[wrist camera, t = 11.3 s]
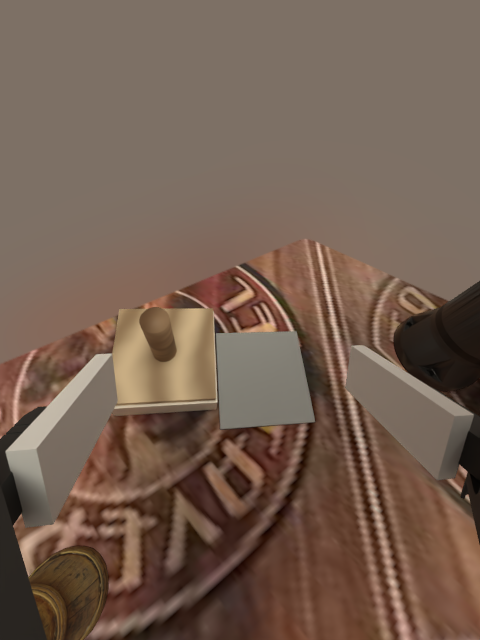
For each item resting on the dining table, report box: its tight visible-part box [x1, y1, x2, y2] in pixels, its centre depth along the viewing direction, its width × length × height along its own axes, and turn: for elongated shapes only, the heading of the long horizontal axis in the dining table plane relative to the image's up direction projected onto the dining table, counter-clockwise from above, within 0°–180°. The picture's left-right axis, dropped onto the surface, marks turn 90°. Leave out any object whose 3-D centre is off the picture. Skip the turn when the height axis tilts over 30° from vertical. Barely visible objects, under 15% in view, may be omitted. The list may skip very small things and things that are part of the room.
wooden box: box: [111, 311, 217, 416], centre depth 42 cm, size 15×15×5 cm
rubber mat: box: [216, 331, 315, 430], centre depth 45 cm, size 15×16×1 cm
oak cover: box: [112, 307, 216, 406], centre depth 36 cm, size 14×14×11 cm
